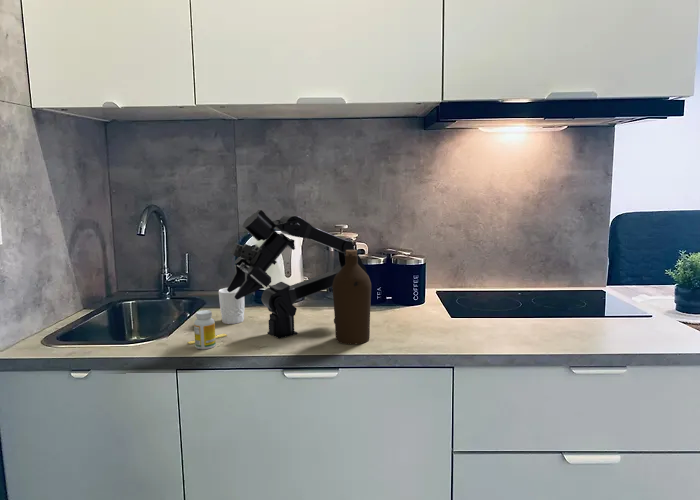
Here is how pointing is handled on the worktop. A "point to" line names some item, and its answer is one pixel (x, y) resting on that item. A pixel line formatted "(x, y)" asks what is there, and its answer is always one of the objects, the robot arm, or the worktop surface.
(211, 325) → the supplement bottle
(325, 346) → the worktop surface
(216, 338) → the yellow flat stick
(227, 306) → the white cup
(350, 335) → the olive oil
